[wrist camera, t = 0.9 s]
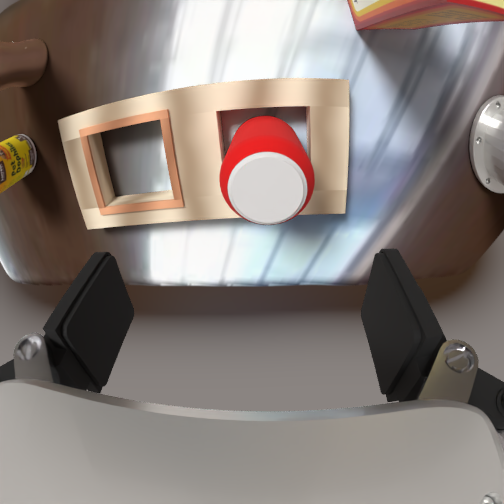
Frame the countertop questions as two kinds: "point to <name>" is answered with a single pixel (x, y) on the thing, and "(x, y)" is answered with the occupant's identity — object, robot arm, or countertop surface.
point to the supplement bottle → (16, 160)
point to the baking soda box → (422, 13)
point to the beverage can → (266, 172)
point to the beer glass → (22, 63)
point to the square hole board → (204, 148)
